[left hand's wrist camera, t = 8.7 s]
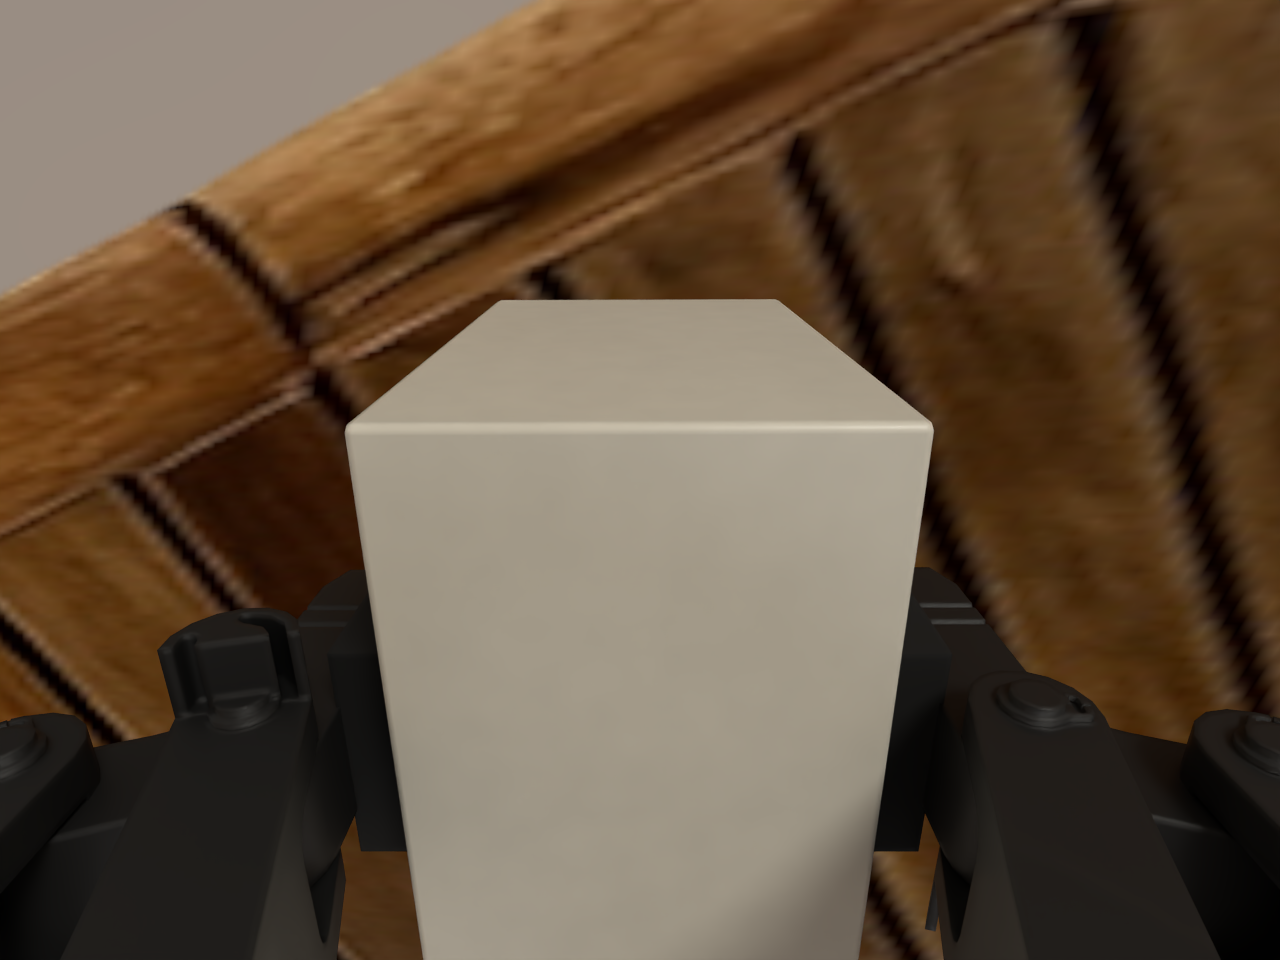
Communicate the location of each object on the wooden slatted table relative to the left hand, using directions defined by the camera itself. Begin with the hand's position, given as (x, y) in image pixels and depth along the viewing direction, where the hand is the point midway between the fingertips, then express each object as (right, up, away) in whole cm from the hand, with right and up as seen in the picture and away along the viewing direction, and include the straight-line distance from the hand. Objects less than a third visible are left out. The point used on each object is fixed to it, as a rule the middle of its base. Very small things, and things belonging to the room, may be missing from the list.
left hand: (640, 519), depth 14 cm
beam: (0, -12, +5) cm, 13 cm away
